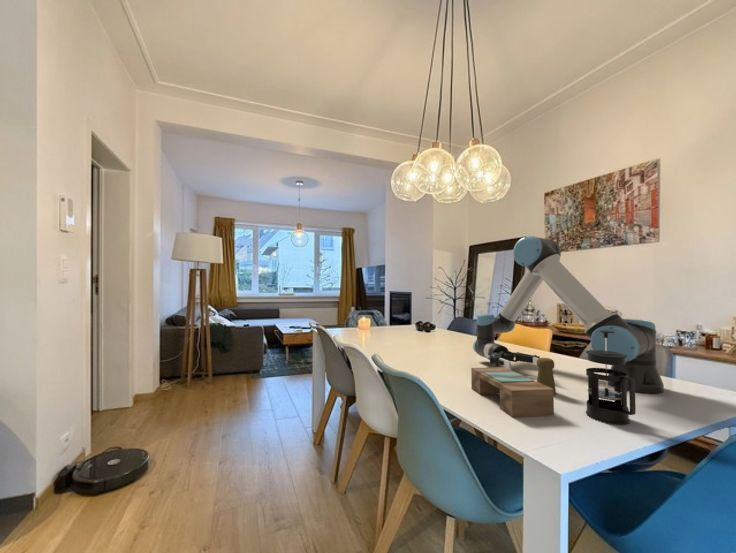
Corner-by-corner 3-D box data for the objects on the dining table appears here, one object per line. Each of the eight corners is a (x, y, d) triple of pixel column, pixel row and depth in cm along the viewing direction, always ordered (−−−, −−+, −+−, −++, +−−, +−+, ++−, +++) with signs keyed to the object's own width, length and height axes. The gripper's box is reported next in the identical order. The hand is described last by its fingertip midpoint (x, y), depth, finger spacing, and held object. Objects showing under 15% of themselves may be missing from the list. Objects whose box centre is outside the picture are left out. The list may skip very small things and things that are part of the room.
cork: (560, 395, 104) (559, 360, 104) (541, 394, 104) (540, 360, 104) (550, 389, 110) (549, 356, 110) (532, 388, 110) (531, 356, 110)
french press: (575, 412, 90) (574, 328, 90) (599, 408, 93) (597, 327, 94) (620, 430, 79) (619, 334, 79) (646, 424, 82) (644, 332, 82)
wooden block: (471, 388, 110) (471, 367, 110) (504, 387, 111) (504, 366, 111) (512, 417, 86) (511, 389, 86) (553, 415, 87) (553, 387, 88)
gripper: (524, 361, 139) (559, 374, 118) (468, 362, 136) (495, 376, 115) (524, 343, 139) (559, 353, 118) (468, 344, 136) (494, 355, 115)
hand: (527, 365), depth 116 cm, fingers open, 13 cm apart
